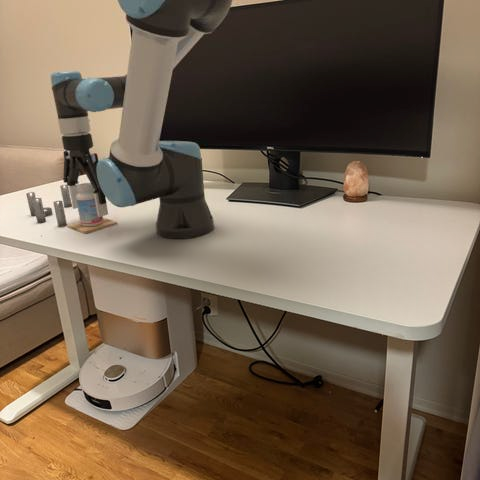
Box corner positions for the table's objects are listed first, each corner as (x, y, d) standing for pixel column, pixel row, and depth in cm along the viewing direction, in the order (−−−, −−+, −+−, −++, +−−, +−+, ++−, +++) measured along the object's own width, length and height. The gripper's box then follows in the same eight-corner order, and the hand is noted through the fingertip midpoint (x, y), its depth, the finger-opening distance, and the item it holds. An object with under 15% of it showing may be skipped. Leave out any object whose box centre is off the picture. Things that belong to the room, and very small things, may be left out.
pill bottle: (97, 227, 127) (90, 187, 123) (77, 227, 128) (69, 187, 125) (107, 220, 133) (101, 181, 129) (87, 220, 134) (81, 182, 130)
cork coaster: (117, 224, 131) (117, 222, 131) (85, 234, 124) (85, 232, 124) (99, 218, 137) (98, 216, 137) (67, 227, 131) (67, 225, 131)
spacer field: (108, 213, 141) (104, 191, 139) (53, 229, 130) (48, 205, 127) (75, 203, 155) (71, 183, 152) (23, 217, 143) (18, 195, 141)
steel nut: (54, 213, 146) (53, 207, 145) (49, 217, 142) (48, 210, 141) (41, 213, 146) (40, 207, 145) (36, 217, 142) (35, 211, 141)
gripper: (114, 134, 116) (126, 215, 124) (66, 129, 133) (80, 201, 140) (87, 138, 111) (101, 222, 119) (41, 133, 128) (56, 207, 135)
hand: (90, 211), depth 129 cm, fingers open, 13 cm apart
